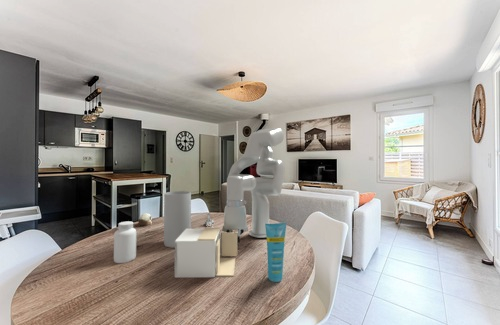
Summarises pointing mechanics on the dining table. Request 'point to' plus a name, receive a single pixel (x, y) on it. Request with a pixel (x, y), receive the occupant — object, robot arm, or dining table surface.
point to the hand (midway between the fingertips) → (235, 244)
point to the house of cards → (209, 221)
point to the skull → (144, 220)
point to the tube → (275, 250)
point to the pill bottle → (125, 242)
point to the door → (229, 244)
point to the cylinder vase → (176, 215)
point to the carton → (201, 254)
